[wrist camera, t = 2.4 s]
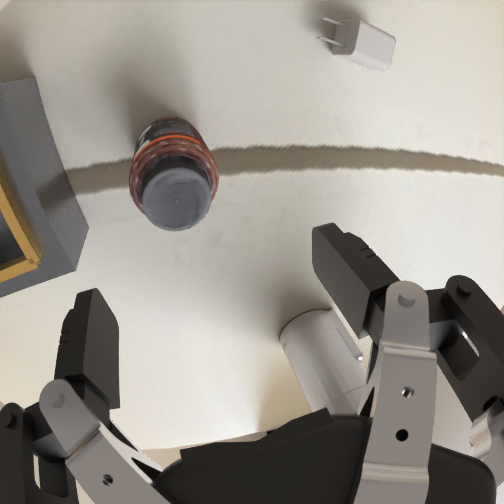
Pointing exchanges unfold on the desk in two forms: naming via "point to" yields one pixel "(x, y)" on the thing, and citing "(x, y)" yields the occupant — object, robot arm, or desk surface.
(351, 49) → the usb wall charger
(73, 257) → the grey square box
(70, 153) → the desk surface
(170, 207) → the supplement bottle
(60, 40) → the desk surface
